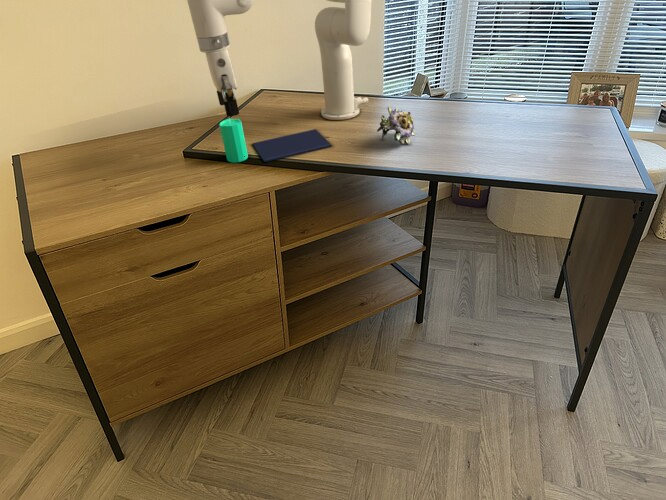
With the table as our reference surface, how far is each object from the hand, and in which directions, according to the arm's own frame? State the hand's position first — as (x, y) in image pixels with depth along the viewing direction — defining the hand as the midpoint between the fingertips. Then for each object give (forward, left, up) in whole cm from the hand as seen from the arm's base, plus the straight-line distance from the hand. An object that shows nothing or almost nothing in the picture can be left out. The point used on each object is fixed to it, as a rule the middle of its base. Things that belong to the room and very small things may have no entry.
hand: (229, 109), depth 128 cm
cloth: (-15, 0, -14) cm, 21 cm away
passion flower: (-42, +13, -14) cm, 47 cm away
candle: (+1, 0, -14) cm, 14 cm away
